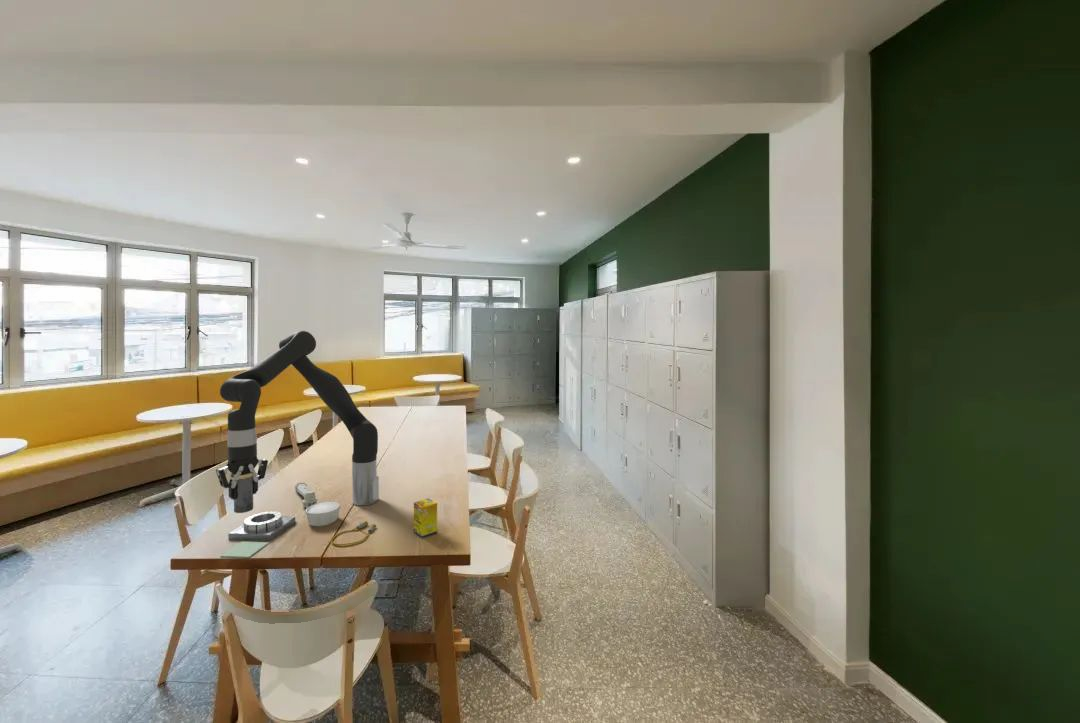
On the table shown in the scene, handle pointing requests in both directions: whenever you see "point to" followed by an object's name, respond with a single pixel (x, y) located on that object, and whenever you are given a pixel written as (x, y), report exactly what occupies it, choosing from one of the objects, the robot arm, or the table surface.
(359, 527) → the extension cord
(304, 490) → the white stepped bar
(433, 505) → the supplement box
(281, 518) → the chuck block
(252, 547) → the mat
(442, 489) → the table surface
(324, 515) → the ramekin
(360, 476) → the robot arm
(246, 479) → the dark grey cylinder
